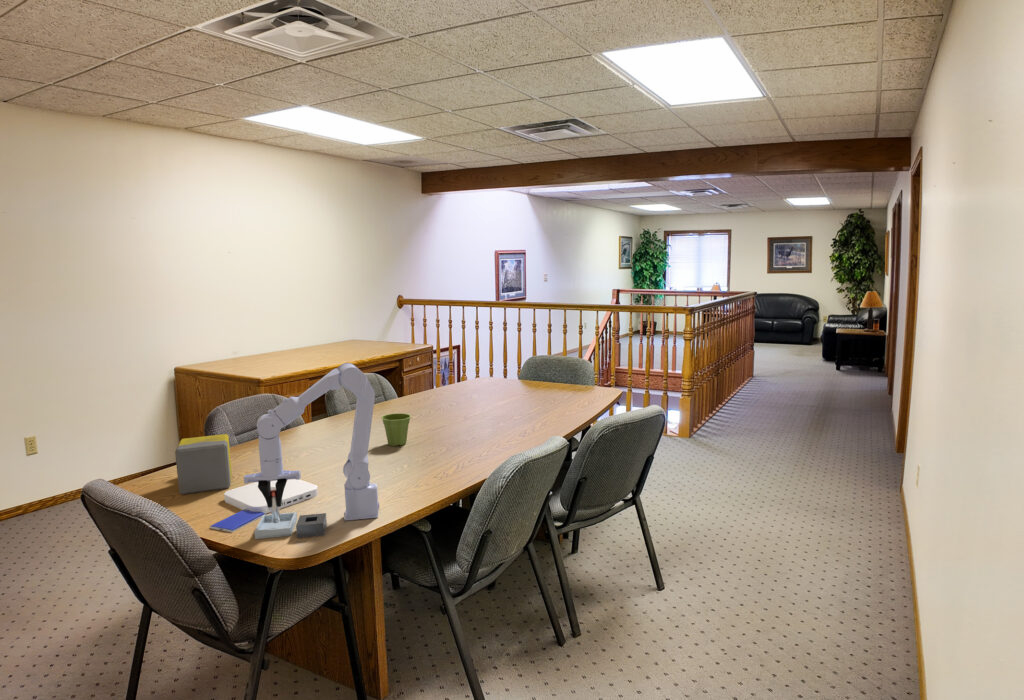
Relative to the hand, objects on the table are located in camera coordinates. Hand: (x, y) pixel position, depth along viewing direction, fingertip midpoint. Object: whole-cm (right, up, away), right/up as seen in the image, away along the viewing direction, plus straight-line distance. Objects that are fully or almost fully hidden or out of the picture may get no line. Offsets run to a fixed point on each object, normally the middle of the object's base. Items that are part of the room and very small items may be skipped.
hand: (274, 505), depth 177 cm
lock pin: (0, -5, +1) cm, 5 cm away
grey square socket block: (+11, -7, -1) cm, 13 cm away
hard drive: (-13, -7, +7) cm, 16 cm away
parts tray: (0, -7, +1) cm, 7 cm away
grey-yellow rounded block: (-39, -2, +43) cm, 57 cm away
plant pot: (+20, +5, +81) cm, 83 cm away
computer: (-10, -4, +25) cm, 28 cm away
